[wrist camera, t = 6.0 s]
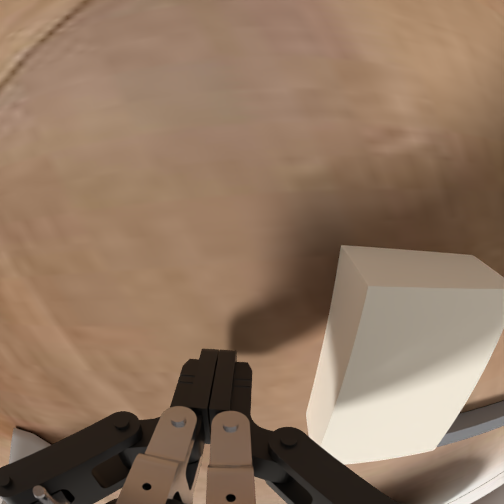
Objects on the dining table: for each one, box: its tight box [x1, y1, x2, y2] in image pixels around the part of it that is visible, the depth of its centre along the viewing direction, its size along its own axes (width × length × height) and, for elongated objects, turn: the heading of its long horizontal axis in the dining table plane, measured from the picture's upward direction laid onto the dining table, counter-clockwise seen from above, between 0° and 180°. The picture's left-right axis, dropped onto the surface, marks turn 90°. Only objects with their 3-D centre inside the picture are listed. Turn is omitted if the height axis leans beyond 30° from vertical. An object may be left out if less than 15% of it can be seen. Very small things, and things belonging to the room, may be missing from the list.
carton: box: [306, 245, 504, 464], centre depth 13 cm, size 10×7×4 cm
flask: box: [2, 428, 51, 504], centre depth 16 cm, size 7×7×10 cm
